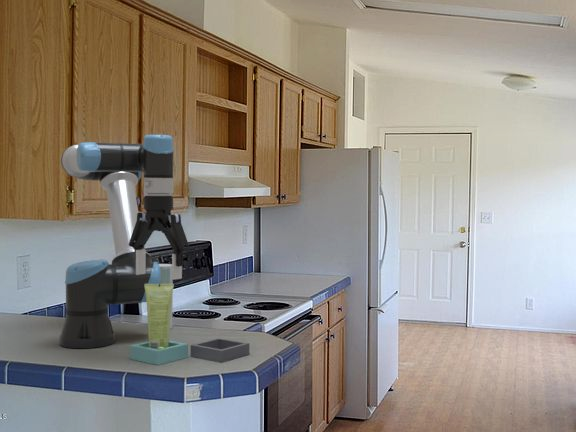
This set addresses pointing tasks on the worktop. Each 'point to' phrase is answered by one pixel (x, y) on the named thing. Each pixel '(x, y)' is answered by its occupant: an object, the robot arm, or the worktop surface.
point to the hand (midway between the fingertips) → (158, 276)
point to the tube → (158, 313)
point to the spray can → (166, 281)
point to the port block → (158, 353)
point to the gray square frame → (220, 349)
